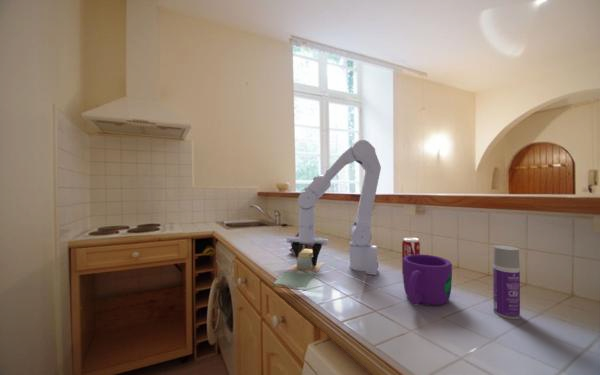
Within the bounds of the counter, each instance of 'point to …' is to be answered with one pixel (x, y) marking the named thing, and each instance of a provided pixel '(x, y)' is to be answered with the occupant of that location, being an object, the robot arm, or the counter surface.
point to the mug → (427, 279)
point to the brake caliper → (304, 246)
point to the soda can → (410, 247)
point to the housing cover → (306, 253)
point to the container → (506, 282)
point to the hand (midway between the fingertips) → (307, 264)
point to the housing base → (305, 263)
